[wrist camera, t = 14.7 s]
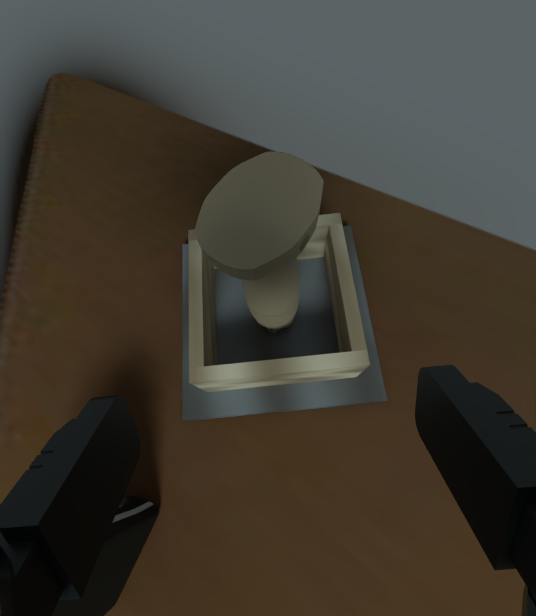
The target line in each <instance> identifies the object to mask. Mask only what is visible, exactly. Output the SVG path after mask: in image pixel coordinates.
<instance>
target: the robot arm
mask: <svg viewBox="0 0 536 616" xmlns="http://www.w3.org/2000/svg"><path fill="white" fill-rule="evenodd" d="M415 420H416V425H417V429H418V432H419V435H420V437H421V439H422V441H423V443H424V444H425V446H426V448H427V450H428V452H429V453H430V455H431V457H432V459H433V460H434V462H435V464H436V466H437V468H438V469H439V471H440V473H441V475H442V477H443V478H444V480H445V482H446V484H447V486H448V487H449V489H450V491H451V493H452V495H453V496H454V498H455V500H456V502H457V504H458V505H459V507H460V509H461V511H462V512H463V514H464V516H465V518H466V520H467V521H468V523H469V525H470V527H471V529H472V530H473V532H474V534H475V536H476V538H477V539H478V541H479V543H480V545H481V547H482V548H483V550H484V552H485V554H486V556H487V557H488V559H489V561H490V563H491V564H492V566H493V568H494V570H505V569H517V571H518V573H519V574H520V576H521V577H522V579H523V581H524V582H525V587H524V591H523V602H522V616H536V432H535V431H534V430H533V429H532V428H531V427H530V428H528V426H527V423H526V422H525V421H524V420H523V419H522V418H521V417H520V416H519V415H518V414H515V413H514V410H513V409H512V408H511V407H510V406H509V405H508V404H507V403H506V402H505V401H504V400H503V399H502V398H501V397H500V396H499V395H498V394H496V393H495V392H493V391H491V390H489V389H488V388H486V387H484V386H483V385H481V384H479V383H469V382H468V381H467V379H466V378H465V377H464V376H463V375H462V374H461V373H460V372H459V371H458V370H457V368H456V367H454V366H453V365H445V366H435V367H424V368H421V369H420V371H419V375H418V385H417V397H416V408H415ZM139 454H140V439H139V435H138V432H137V429H136V427H135V424H134V421H133V418H132V415H131V412H130V409H129V406H128V403H127V401H126V399H125V397H124V396H122V395H118V396H108V397H97V398H92V399H91V400H90V401H89V402H88V403H87V405H86V406H85V407H84V409H83V410H82V412H81V413H80V414H79V416H78V417H77V419H72V420H70V421H69V422H68V423H67V424H66V425H64V426H63V427H62V428H61V429H59V430H58V431H57V432H56V433H55V434H53V436H52V437H51V438H50V440H49V441H48V442H47V444H46V445H45V446H44V448H43V449H42V450H41V454H40V455H38V456H37V457H36V458H35V460H34V461H33V462H32V464H31V465H30V466H29V467H30V468H29V470H26V472H25V473H24V474H23V475H22V477H21V478H20V479H19V481H18V482H17V483H16V485H15V486H14V487H13V489H12V490H11V491H10V493H9V494H8V495H7V497H6V498H5V499H4V501H3V502H2V503H1V505H0V616H52V614H53V612H54V610H55V607H56V605H57V603H58V601H59V600H72V599H81V597H82V595H83V593H84V590H85V588H86V585H87V583H88V580H89V578H90V576H91V573H92V571H93V568H94V566H95V564H96V561H97V559H98V556H99V554H100V551H101V549H102V547H103V544H104V542H105V539H106V537H107V535H108V532H109V530H110V527H111V525H112V522H113V520H114V518H115V515H116V513H117V510H118V508H119V505H120V503H121V501H122V498H123V496H124V493H125V491H126V489H127V486H128V484H129V481H130V479H131V476H132V474H133V472H134V469H135V467H136V464H137V462H138V459H139Z"/></svg>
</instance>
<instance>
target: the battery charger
mask: <svg viewBox="0 0 536 616" xmlns="http://www.w3.org/2000/svg"><path fill="white" fill-rule="evenodd" d="M158 514H159V509H158V508H157V507H156V506H154V504H153V503H152V502H147V501H145V500H143V499H141V498H137V497H126V498H124V499H122V501H121V503H120V505H119V508H118V510H117V513H116V515H115V518H114V520H113V522H112V525H111V527H110V530H109V532H108V535H107V537H106V539H105V542H104V544H103V547H102V549H101V551H100V554H99V556H98V559H97V561H96V564H95V566H94V568H93V571H92V573H91V576H90V578H89V580H88V583H87V585H86V588H85V590H84V593H83V595H82V597H81V599H72V600H59V601H58V603H57V605H56V607H55V610H54V612H53V614H52V616H104V615H105V614H106V613H107V612H108V611H109V610H110V609H111V608H112V607H114V605H115V604H116V602H117V600H118V598H119V596H120V594H121V592H122V590H123V588H124V586H125V584H126V582H127V580H128V577H129V575H130V573H131V571H132V569H133V567H134V565H135V563H136V561H137V559H138V557H139V555H140V553H141V550H142V548H143V546H144V544H145V542H146V540H147V538H148V536H149V534H150V532H151V529H152V527H153V525H154V523H155V521H156V519H157V517H158Z"/></svg>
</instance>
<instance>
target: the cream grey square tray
mask: <svg viewBox="0 0 536 616" xmlns="http://www.w3.org/2000/svg"><path fill="white" fill-rule="evenodd" d="M194 231H195V229H194V230H188V244H183V278H182V421H192V420H203V419H213V418H223V417H233V416H244V415H254V414H264V413H274V412H285V411H295V410H305V409H315V408H326V407H336V406H346V405H356V404H367V403H377V402H385V401H387V397H386V392H385V387H384V382H383V378H382V373H381V368H380V363H379V358H378V354H377V349H376V344H375V339H374V334H373V330H372V325H371V320H370V315H369V310H368V306H367V301H366V296H365V291H364V287H363V282H362V277H361V272H360V267H359V263H358V258H357V253H356V248H355V243H354V239H353V234H352V229H351V225H350V226H342V221H341V216H340V213H334V214H325V215H319V217H318V222H317V225H316V229H315V231H314V233H313V235H312V237H311V238H310V240H309V242H308V244H307V245H306V247H305V248H304V250H303V251H302V252H301V253H300V254H299V255H298V256H297V262H298V272H299V282H300V296H299V303H298V308H297V311H296V314H295V316H294V321H293V323H292V325H291V326H290V327H289V328H283V329H280V330H278V331H277V332H276V333H270V332H269V330H268V329H267V328H266V327H264V326H260V325H259V324H258V323H257V321H256V319H255V318H254V316H253V315H252V313H251V311H250V310H249V307H248V305H247V302H246V299H245V296H244V291H243V286H242V280H241V279H237V278H235V277H232V276H229V275H227V274H226V273H224V272H222V271H220V270H219V269H218V268H216V267H215V266H214V265H213V264H212V263H211V262H210V261H209V260H208V259H207V258H206V256H205V255H204V253H203V251H202V249H201V247H200V245H199V243H198V241H197V239H196V236H195V233H194Z"/></svg>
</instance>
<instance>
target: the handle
mask: <svg viewBox="0 0 536 616" xmlns="http://www.w3.org/2000/svg"><path fill="white" fill-rule="evenodd" d="M323 184H324V181H323V179H322V177H321V176H320V174H319V173H318V172H317V170H316V169H315V168H314V167H312V166H311V165H310V164H309V163H307V162H305V161H304V160H302V159H300V158H298V157H295V156H293V155H290V154H287V153H283V152H264V153H262V154H260V155H258V156H256V157H253V158H251V159H249V160H247V161H245V162H243V163H241V164H239V165H238V166H236V167H235V168H233V169H232V170H230V171H229V172H228V173H227V174H226V175H225V176H224V177H223V178H222V179H221V180H220V181H219V183H218V184H217V185H216V186H215V187H214V188H213V189H212V190H211V192H210V193H209V194H208V196H207V197H206V198H205V200H204V203H203V205H202V207H201V210H200V213H199V217H198V220H197V224H196V227H195V231H194V233H195V236H196V239H197V241H198V243H199V245H200V247H201V249H202V251H203V253H204V255H205V256H206V258H207V259H208V260H209V261H210V262H211V263H212V264H213V265H214V266H215V267H216V268H218V269H219V270H220V271H222V272H224V273H226V274H227V275H229V276H232V277H235V278H237V279H241V280H242V286H243V291H244V296H245V299H246V302H247V305H248V307H249V310H250V311H251V313H252V315H253V316H254V318H255V319H256V321H257V323H258V324H259V325H260V326H264V327H266V328H267V329H268V330H269V332H270V333H276V332H277V331H278V330H280V329H283V328H289V327H290V326H291V325H292V323H293V321H294V316H295V314H296V311H297V308H298V303H299V296H300V282H299V272H298V262H297V256H298V255H299V254H300V253H301V252H302V251H303V250H304V248H305V247H306V245H307V244H308V242H309V240H310V238H311V237H312V235H313V233H314V231H315V229H316V225H317V222H318V217H319V212H320V205H321V199H322V192H323Z"/></svg>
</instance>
